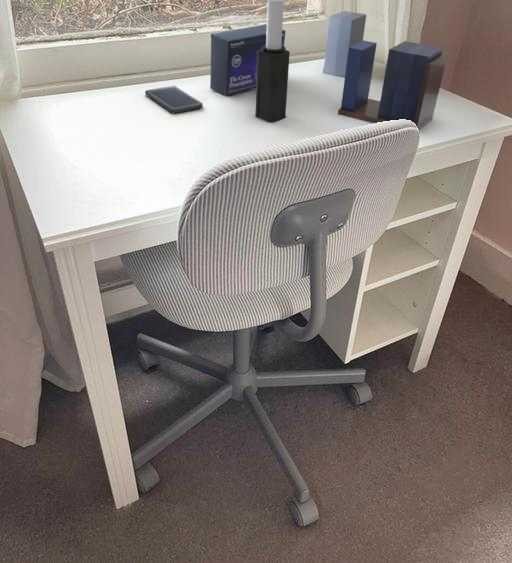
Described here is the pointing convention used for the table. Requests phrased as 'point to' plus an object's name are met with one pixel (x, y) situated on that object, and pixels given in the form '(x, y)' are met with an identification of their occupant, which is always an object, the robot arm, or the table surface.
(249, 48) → the box
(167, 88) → the cell phone
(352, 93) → the navy book
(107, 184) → the table surface
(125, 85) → the table surface
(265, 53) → the candle
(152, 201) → the table surface
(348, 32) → the grey upright block
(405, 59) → the book rack
